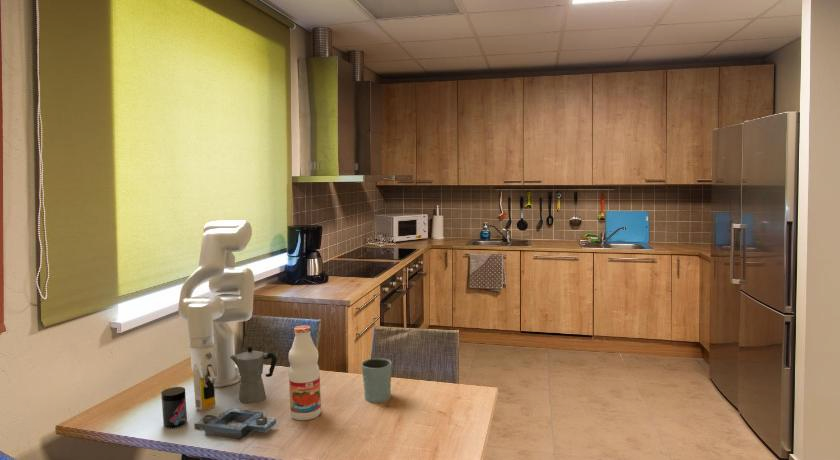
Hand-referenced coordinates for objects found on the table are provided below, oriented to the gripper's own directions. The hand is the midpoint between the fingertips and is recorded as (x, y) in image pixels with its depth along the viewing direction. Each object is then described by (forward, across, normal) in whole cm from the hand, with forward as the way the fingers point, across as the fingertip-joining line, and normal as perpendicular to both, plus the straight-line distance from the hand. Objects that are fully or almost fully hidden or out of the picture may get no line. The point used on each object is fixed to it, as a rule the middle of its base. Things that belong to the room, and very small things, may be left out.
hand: (204, 394), depth 184 cm
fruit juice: (+5, -28, -20) cm, 35 cm away
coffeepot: (+5, -5, -15) cm, 16 cm away
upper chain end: (+3, -24, -2) cm, 24 cm away
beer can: (+5, 0, 0) cm, 5 cm away
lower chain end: (+4, -18, +2) cm, 19 cm away
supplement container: (+5, -5, +12) cm, 13 cm away
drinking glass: (+5, -34, -44) cm, 56 cm away
